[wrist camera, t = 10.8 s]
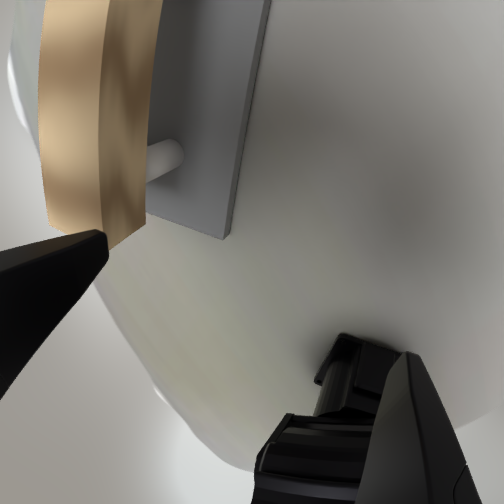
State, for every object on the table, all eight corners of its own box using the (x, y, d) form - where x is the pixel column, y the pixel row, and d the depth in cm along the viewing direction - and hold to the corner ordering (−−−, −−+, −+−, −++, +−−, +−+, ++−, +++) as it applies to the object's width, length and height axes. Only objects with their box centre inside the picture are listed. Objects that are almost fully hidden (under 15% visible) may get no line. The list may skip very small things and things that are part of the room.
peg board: (229, 233, 22) (193, 271, 18) (103, 189, 25) (60, 213, 21) (288, -82, 10) (258, -121, 6) (130, -64, 12) (82, -77, 8)
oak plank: (145, 224, 18) (105, 253, 15) (88, 202, 19) (49, 225, 16) (183, -87, 8) (139, -110, 5) (111, -68, 9) (66, -79, 6)
